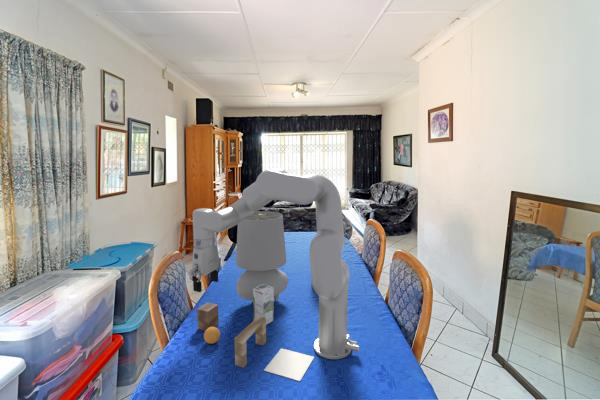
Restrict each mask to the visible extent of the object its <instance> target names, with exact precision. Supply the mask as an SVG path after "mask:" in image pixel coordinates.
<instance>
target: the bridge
mask: <svg viewBox="0 0 600 400" xmlns="http://www.w3.org/2000/svg"><path fill="white" fill-rule="evenodd" d="M254 334H255V344H256V345H260V346H264V345H265V344H266V343H267V325H266V318H263V317H259V316H258V317H257V318H256V319H255V320H254V319H253V321H252V322H251V323H250V324H248V325H247V326H246V327H245V328H244V329H243V330H242V331H240V332H239V333H238V335H236V336H235V337H234V339H233V340H234V341H233V342H234V364H235V365H234V366H237V367H240V368H245V367H246V366H247V364H248V359H247V358H248V356H247V355H248V353H247V352H248V351H247V348H248V347H247V341H248V340H249V338H251V337H252V336H253V335H254Z"/></svg>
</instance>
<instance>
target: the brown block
mask: <svg viewBox="0 0 600 400" xmlns="http://www.w3.org/2000/svg"><path fill="white" fill-rule="evenodd" d="M196 309H197V310H196V312H197V313H196V314H197V315H196V317H197V328H198V330H201V331H204V332H205V331H206V330H207V329H208V328H209V327H216V328H217V326H218V325H219V324H220V321H219V320H220V319H219V305H218V304H217V303H212V302H205V304H203V305H201V306H200V307H198V308H196Z"/></svg>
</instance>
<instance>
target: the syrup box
mask: <svg viewBox="0 0 600 400" xmlns="http://www.w3.org/2000/svg"><path fill="white" fill-rule="evenodd" d="M274 302H275V300H274V288H273V287H271V286H269V285H267V284H262V285H259V286H257V287H255V288H253V302H252V303H253V304H252V305H253V306H252V307H253V314H252V315H253V321H254V320H255V319H256V318H257V317H258V316H259V317H263V318H266V326H268V325H269V324H271V323H273V322H274V318H275V317H274V313H275V312H274V309H275V307H274V306H275V305H274Z"/></svg>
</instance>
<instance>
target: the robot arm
mask: <svg viewBox="0 0 600 400" xmlns="http://www.w3.org/2000/svg"><path fill="white" fill-rule="evenodd" d="M273 200H276V201H281V202H285V203H290V204H296V205H300V206H301V205H304V206H305V205H309V204H311V203H315V221H316V234H315V235H314V236H313V238H312V239H311V242H310V245H309V264H310V265H309V266H310V275H311V281H312V285H313V287H312V289H313V291H314V292H315V294H316V295H318V338H317V339H315V341H314V344H313V349H314V351H315V352H316V354H317V355H318V356H319V357H321V358H324V359H327V360H328V359H329V360H341V359H344V358H346V357H348V356H349V355H350V353H351V351H354V352H356V353H357V352H359V353H360V345H358V341H356V340H351V339H350V334H348V308H349V307H348V306H349V305H348V303H349V299H348V298H349V284H350V269H349V266H348V264H347V262H345V260H344V259H342V253H343V250H344V248H345V245H346V240H345V239H346V238H345V231H344V230H345V229H344V218H343V210H342V209H343V208H342V201H341V195H340V191H339V190H338V188H337V186H336V185H335V184H334V182H332V180H330V179H329V178H327V177H326V176H323V175H320V174H318V173H309V174H306V175H303V176H302V175H301V176H300V175H297V174H296V175H295V174H289V173H288V172H287V171H286V170H284V168H283V169H282V168H277V167H276V168H270V169H266V170H263V171H262V172H261V173H259V174H258V175H257V178H256V180H255V181H254V182H253V183H251V184H250V185H249V186H247V187H246V188H244V189H243V191H242V196H241V197H240V198H239V199H237V200H236V201H234V203H231V204H230V205H229V206H227V207H224V208H221V209H218V210H215V211H214V210H213V209H211V208H207V207H202V208H201V207H200V208H196V209H194V210H193V211H192V231H193V233H192V235H193V244H192V245H193V250H192V261H191V262H192V267H191V269H190V270H188V272H187V275H188V277H189V280H191V281H192V285H193V288H192V289H193V291H194V292H197V293H201V292H203V291H202V281H201V280H202V277H203V276H207V275H209V274H210V281H211V282H213V283H218V282H219V271H220V266H221V261H222V257H219V249H218V246H217V243H216V236H215V235H216V233H222V232H225V231H227V230H229V229H231V228H234V227H235V226H238V224H239V223H240V222H242V221H243V220H245V219H246V218H248V217H249V216H251V215H252V214H253V213H255V212H259V211H260V209H262V208H264V207H265V206H266V205H268V204H269V203H271V202H272V201H273Z"/></svg>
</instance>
